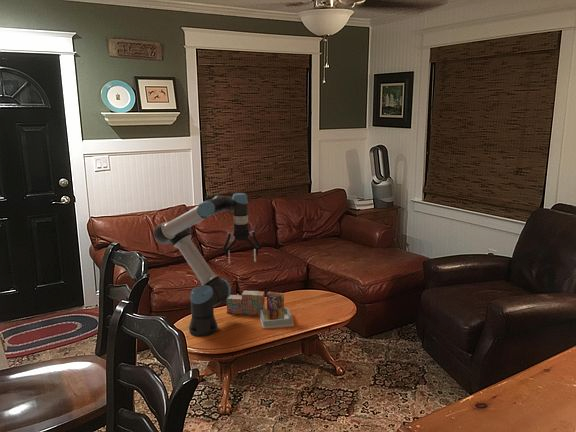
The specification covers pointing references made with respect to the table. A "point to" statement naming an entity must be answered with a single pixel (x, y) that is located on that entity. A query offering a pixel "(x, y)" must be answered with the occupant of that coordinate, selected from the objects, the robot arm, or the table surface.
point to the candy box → (275, 306)
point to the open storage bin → (276, 323)
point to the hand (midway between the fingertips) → (242, 262)
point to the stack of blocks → (246, 303)
